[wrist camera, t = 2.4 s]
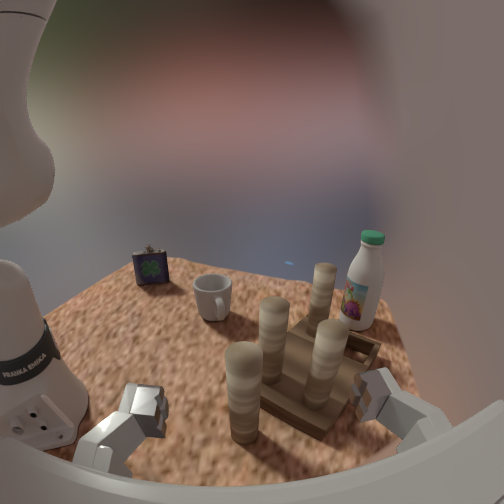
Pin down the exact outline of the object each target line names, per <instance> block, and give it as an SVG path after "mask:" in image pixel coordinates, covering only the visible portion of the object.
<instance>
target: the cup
mask: <svg viewBox="0 0 504 504" xmlns="http://www.w3.org/2000/svg"><path fill="white" fill-rule="evenodd" d="M193 289H194V293H195V298H196V303H197V307H198V311H199V314H200V315H201V317H202V318H204V319H206V320H208V321H221V320H224V319H225V317H227V315H228V314H229V311H230V303H231V292H232V281H231V279H230V278H229V277H227V276H225V275H222V274H206V275H202V276H200V277H198V278H196V279H195V280H194V282H193Z"/></svg>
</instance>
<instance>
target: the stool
mask: <svg viewBox="0 0 504 504" xmlns="http://www.w3.org/2000/svg"><path fill="white" fill-rule="evenodd" d="M336 272H337V268H336V266H334V265H332V264H329V263H318V264H316V265H315V271H314V279H313V287H312V294H311V301H310V308H309V315H307V316H306V317H305V318H303V319H302V320H301V321H300V322H299V323H298V324H297V325H295V326H294V327H293V328H292V329H291V330H290V331H288V332H287V326H288V317H289V308H290V303H289V302H288V301H287V300H286V299H284V298H282V297H276V296H272V297H266V298H264V299H263V300H261V302H260V319H259V345H258V346H260V348H261V349H262V351H263V365H262V381H261V397H260V407H261V408H263V409H264V410H266V411H268V412H269V413H271V414H273V415H274V416H276V417H278V418H279V419H281V420H283V421H285V422H286V423H288V424H290V425H292V426H293V427H295V428H297V429H299V430H301V431H303V432H304V433H306V434H308V435H310V436H312V437H314V438H316V439H318V440H320V441H322V439H323V438H324V437H325V435H326V434H327V433H328V431H329V430H330V429H331V427H332V426H333V425H334V423H335V422H336V420H337V419H338V417H339V416H340V415H341V413H342V412H343V410H344V409H345V407H346V406H347V404H348V403H349V401H350V398H349V389H350V386H351V385H352V384H353V383H354V380H353V379H354V376H355V375H356V374H357V373H361V372H366V371H368V370H369V369H370V367H371V365H372V363H373V362H374V360H375V358H376V356H377V354H378V351H379V348H380V346H381V343H378V342H375V341H373V340H370V339H367V338H365V337H362V336H359V335H357V334H354V333H352V332H350V329H349V327H348V326H347V324H345V323H344V322H342V321H339V320H336V319H328V317H329V312H330V307H331V301H332V296H333V290H334V284H335V277H336ZM345 346H346V347H349V348H351V349H354V350H356V351H359V352H361V353H364V354H366V355H369V356H368V357H367V359H366V361H365V362H364V364H363V363H360V362H358V361H355V360H353V359H351V358H348V357H346V356H343V353H344V350H345Z"/></svg>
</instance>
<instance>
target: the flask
mask: <svg viewBox="0 0 504 504" xmlns="http://www.w3.org/2000/svg"><path fill="white" fill-rule="evenodd" d="M145 248H146V251H139V252H135V253H133V254H132V258H133V264H134V270H135V276H136V283H137V285H141V286H144V285H153V284H159V283H160V284H162V283H168V282H169V272H168V264H167V255H166V251H165V250H164V249H153V248H151V247H150V244H148V245H146V247H145Z"/></svg>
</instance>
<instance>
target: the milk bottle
mask: <svg viewBox="0 0 504 504" xmlns="http://www.w3.org/2000/svg"><path fill="white" fill-rule="evenodd" d="M384 239H385V236H384V234H382V233H380V232H377V231H372V230H365V231H363V232H362V235H361V248H360V250H359V252H358V254H357V256H356V257H355V258H354V260H353V261H352V263H351V265H350V268H349V271H348V276H347V280H346V286H345V290H344V295H343V300H342V305H341V310H340V315H339V320H340V321H342V322H344V323H345V324H347V326H348V327H349V329H350V330H354V331H363V330H367V329H368V328H370V326H371V325H372V323H373V320H374V317H375V313H376V310H377V306H378V302H379V299H380V295H381V290H382V286H383V280H384V266H383V261H382V254H381V249H382V247H383V243H384Z"/></svg>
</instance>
